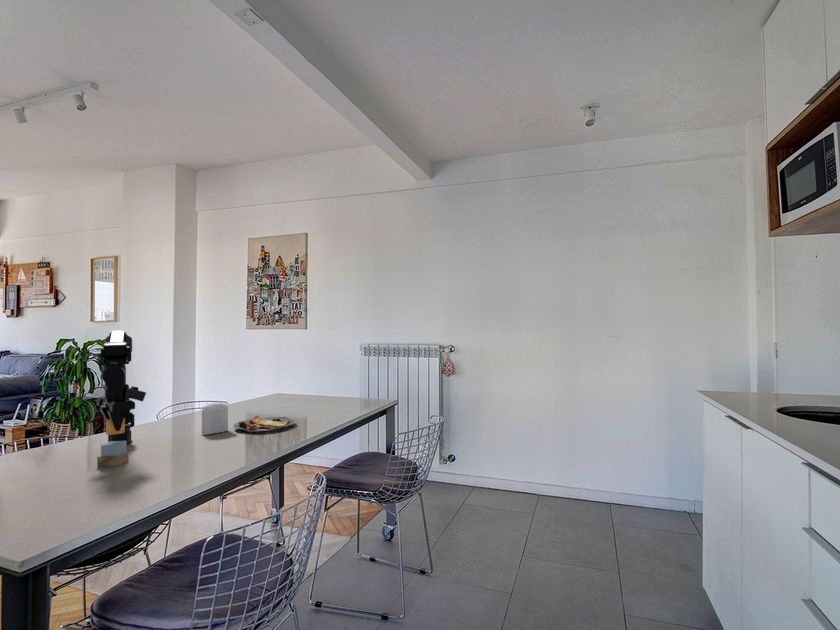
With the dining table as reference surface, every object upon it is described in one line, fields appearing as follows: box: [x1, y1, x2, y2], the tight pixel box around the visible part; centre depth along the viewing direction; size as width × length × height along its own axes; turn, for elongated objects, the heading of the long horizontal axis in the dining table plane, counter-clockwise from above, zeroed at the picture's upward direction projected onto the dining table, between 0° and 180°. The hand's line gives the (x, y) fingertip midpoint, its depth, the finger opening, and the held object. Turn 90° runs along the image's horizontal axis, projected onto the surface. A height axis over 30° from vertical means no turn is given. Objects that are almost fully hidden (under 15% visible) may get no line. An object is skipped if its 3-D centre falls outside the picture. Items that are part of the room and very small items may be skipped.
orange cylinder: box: [105, 418, 125, 436], centre depth 143 cm, size 5×5×4 cm
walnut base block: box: [96, 450, 129, 468], centre depth 142 cm, size 6×6×4 cm
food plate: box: [233, 415, 296, 433], centre depth 191 cm, size 25×23×4 cm
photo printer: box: [201, 402, 229, 436], centre depth 182 cm, size 10×4×12 cm, turn 134°
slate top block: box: [100, 441, 128, 456], centre depth 142 cm, size 5×5×4 cm
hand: (115, 429), depth 143 cm, fingers closed on orange cylinder, 5 cm apart
